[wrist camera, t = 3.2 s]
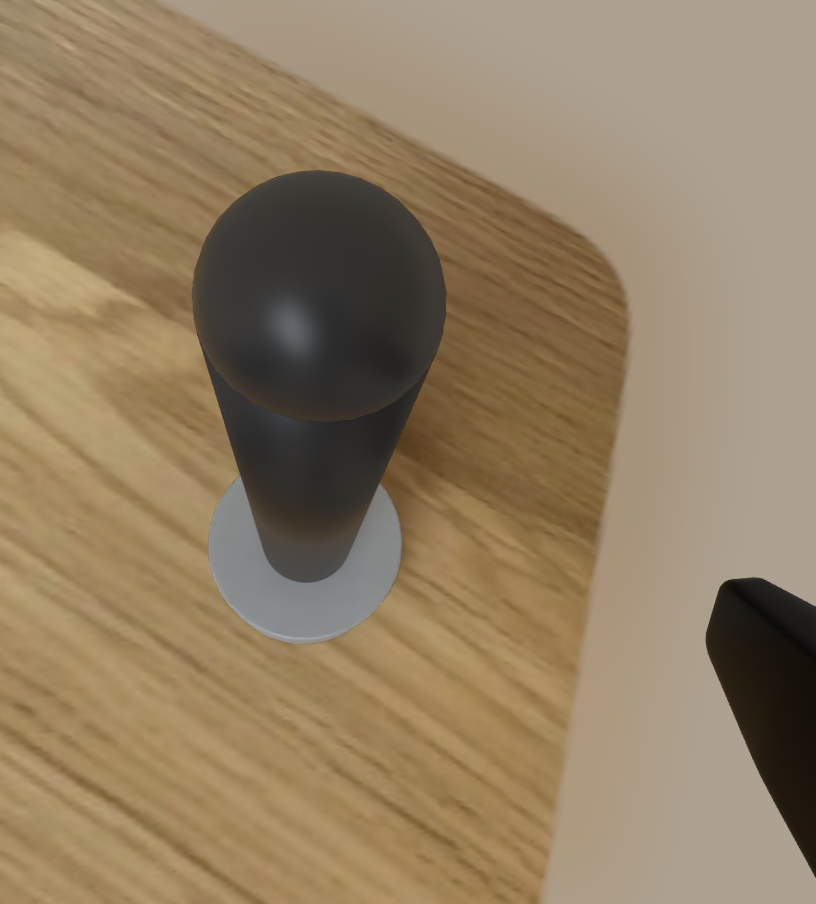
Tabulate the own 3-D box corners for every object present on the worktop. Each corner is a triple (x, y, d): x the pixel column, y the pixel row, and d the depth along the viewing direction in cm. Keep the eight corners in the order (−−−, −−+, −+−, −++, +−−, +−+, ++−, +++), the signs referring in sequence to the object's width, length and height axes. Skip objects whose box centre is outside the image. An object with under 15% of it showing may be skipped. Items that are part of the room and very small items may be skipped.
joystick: (357, 667, 18) (549, 669, 4) (192, 610, 17) (-171, 415, 4) (411, 507, 19) (696, 101, 5) (257, 452, 19) (147, -109, 5)
